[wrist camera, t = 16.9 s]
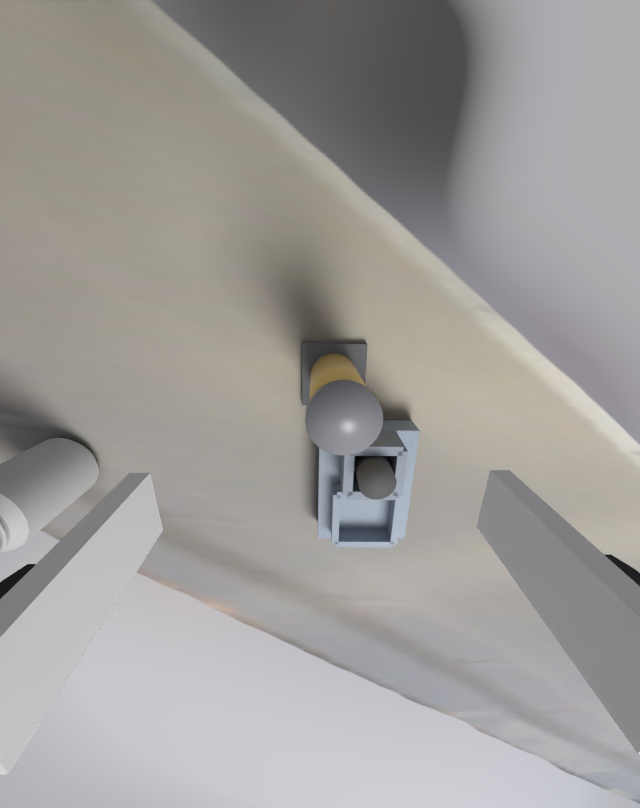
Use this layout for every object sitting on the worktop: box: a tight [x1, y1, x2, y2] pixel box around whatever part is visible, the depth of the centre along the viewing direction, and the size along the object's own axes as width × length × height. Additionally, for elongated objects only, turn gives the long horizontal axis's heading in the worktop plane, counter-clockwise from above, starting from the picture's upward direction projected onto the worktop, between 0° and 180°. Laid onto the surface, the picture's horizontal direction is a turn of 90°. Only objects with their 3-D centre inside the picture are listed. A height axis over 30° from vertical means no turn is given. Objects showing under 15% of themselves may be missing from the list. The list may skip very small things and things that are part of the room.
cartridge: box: [306, 353, 383, 455], centre depth 27 cm, size 5×5×13 cm
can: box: [0, 438, 99, 554], centre depth 31 cm, size 8×8×12 cm
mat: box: [302, 343, 367, 405], centre depth 33 cm, size 7×7×1 cm
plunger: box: [354, 456, 397, 500], centre depth 31 cm, size 4×4×5 cm
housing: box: [318, 420, 420, 547], centre depth 35 cm, size 15×11×7 cm
